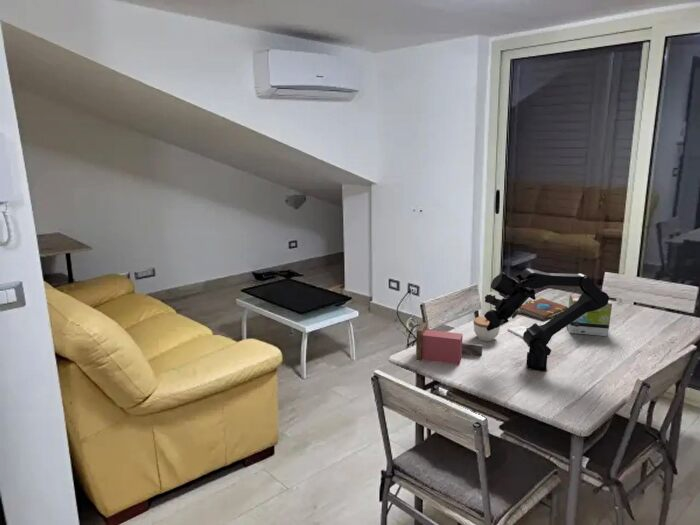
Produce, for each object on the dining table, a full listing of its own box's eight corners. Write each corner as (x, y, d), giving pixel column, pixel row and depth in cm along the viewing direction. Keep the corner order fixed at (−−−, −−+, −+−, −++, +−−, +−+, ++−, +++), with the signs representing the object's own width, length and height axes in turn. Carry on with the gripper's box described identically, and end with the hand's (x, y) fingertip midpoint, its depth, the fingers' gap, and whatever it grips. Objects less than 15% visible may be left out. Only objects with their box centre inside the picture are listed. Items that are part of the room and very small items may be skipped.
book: (573, 312, 247) (574, 302, 246) (543, 323, 233) (545, 313, 232) (543, 302, 260) (544, 292, 258) (513, 312, 245) (514, 302, 244)
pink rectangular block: (461, 358, 196) (462, 333, 193) (459, 364, 190) (460, 339, 188) (425, 353, 200) (425, 329, 198) (421, 359, 195) (422, 335, 192)
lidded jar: (489, 345, 207) (490, 323, 205) (467, 337, 215) (468, 316, 213) (504, 338, 214) (506, 317, 211) (483, 331, 222) (484, 310, 219)
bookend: (482, 354, 199) (483, 325, 196) (478, 368, 187) (480, 337, 184) (423, 347, 206) (423, 318, 203) (416, 360, 194) (416, 330, 192)
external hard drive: (526, 341, 212) (507, 331, 223) (542, 339, 214) (523, 328, 226) (526, 338, 211) (507, 327, 222) (542, 335, 214) (523, 325, 225)
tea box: (569, 334, 218) (573, 300, 214) (566, 325, 227) (569, 293, 223) (608, 336, 214) (612, 303, 211) (603, 328, 224) (606, 295, 220)
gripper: (507, 280, 193) (482, 309, 200) (487, 289, 178) (460, 319, 186) (530, 301, 188) (503, 330, 196) (511, 312, 174) (483, 342, 181)
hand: (487, 329), depth 190 cm, fingers closed
